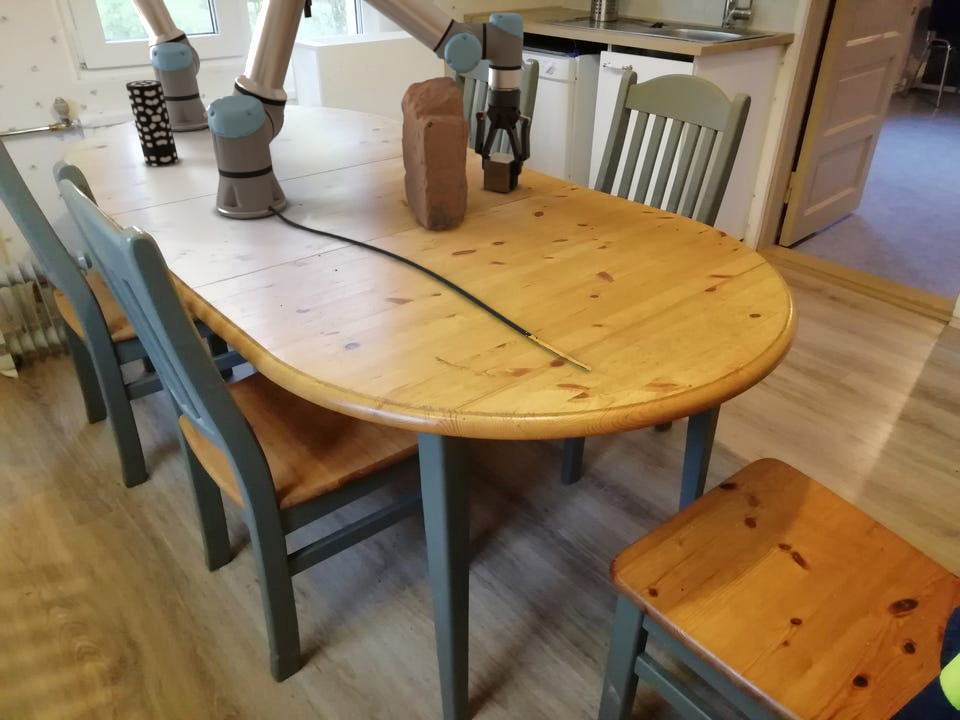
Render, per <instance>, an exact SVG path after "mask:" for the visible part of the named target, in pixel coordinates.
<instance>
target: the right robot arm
mask: <svg viewBox="0 0 960 720" xmlns="http://www.w3.org/2000/svg"><path fill="white" fill-rule="evenodd" d="M305 1H306V0H260V4H259V10H258V14H257V18H256V22H255V26H254V31H253V34H252V40H251V44H250V49H249V53H248V57H247V61H246V66H245V69H244V73H242V74H240V75H238V76H237V77H235V80H234V85H233V90H232V94H231V95H228V96H223V97H222V98H217V99H215V100H213V101H212V102H210V103H209V105H208V106H207V109H206V111H207V114H208V129H209V131H210V136H211V142H212V147H213V151H214V156H215V161H216V167H217V169H218V170H217V172H218V185H217V193H216V201H215V206H216V210H217V213H218V214H219V215H221V216H223V217H225V218H229V219H236V220H253V219H260V218H261V219H262V218H265V217H266V218H267V217H270V216H274V215H276V217H277V218H279V219H280V220H281V221H283V222H285V223H286V224H287V225H290V226H292V227H293V228H296V229H300V230H303V231H305V232H308V233H313V234H316V235H321V236H325V237H328V238H332V239H336V240H340V241H342V242H346V243H350V244H353V245H357V246H359V247H362V248H364V249H369V250H371V251H373V252H374V251H375V252H376V253H379V254H383V255H385V256H387V257H388V256H389V257H391V258H393V259H396V260H398V261H400V262H402V263H405V264H406V265H409V266H411V267H414V268H415V269H417V270H419V271H422V272H423V273H425V274H427V275H428V276H430V277H433V278H434V279H435V280H438V281H440V282H441V283H443V284H445V285H446V286H448V287H450V288H451V289H453V290H455V291H456V292H458V293H459V294H461V295H462V296H463V297H465V298H467V299H469V300H470V301H472V302H473V303H475V304H476V305H478V306H479V307H481V308H482V309H483V310H485V311H487V312H488V313H490V314H491V315H492V316H494V317H495V318H497V319H499V320H500V321H501V322H503V323H505V324H506V326H507V325H508V326H509V327H510V328H512V329H514V330H515V331H516V332H518V333H520V334H521V335H523V336H525V335H527V337H526V338H528V336H531V335H533V334H532V333H530V332H529V331H527V330H526V329H524V328H523V327H521V326H520V325H517V324H516V323H514V321H511V320H510V319H508V318H507V317H505V316H504V315H502V314H501V313H499V312H498V311H496V310H495V309H494V308H492V307H490V306H488V305H487V304H486V303H484V302H482V301H481V300H479V299H478V298H477V297H475V296H474V295H472V294H471V293H469V292H468V291H466V290H464V289H463V288H461V287H460V286H458V285H456V284H454V283H453V282H451V281H450V280H448V279H446V278H445V277H443V276H441V275H439V274H437V273H435V272H434V271H432V270H430V269H428V268H427V267H424V266H422V265H420V264H418V263H417V262H415V261H412V260H410V259H407V258H405V257H402V256H400V255H398V254H395V253H392V252H390V251H387V250H384V249H383V248H380V247H377V246H374V245H371V244H368V243H366V242H365V243H364V242H361V241H358V240H355V239H352V238H349V237H345V236H341V235H339V234H334V233H331V232H327V231H322V230H317V229H314V228H310V227H307V226H304V225H301V224H298V223H295V222H294V221H292V220H290V219H287V218H286V217H285V216H284V215H282V214H281V213H280V212H282V211H283V210H285V209H286V207H287V199H286V194H285V193H284V191H283V189H282V187H281V184H280V182H279V180H278V179H277V177H276V175H275V172H274V167H273V160H272V154H271V147H270V144H271V143H272V142H273V140H274V139H275V138H276V137H278V135H279V134H280V133H281V131H282V129H283V126H284V122H285V109H286V105H287V101H288V94H287V92H286V91H285V88H284V86H285V81H286V77H287V73H288V69H289V66H290V63H291V59H292V54H293V50H294V46H295V43H296V39H297V35H298V31H299V27H300V23H301V20H302V15H303V13H304V5H305ZM362 1H363V2H365V3H366V4H368V6H370V7H371V8H373V9H374V10H376V11H377V12H379V13H380V14H381V15H382V16H384V17H385V18H386V19H388V20H389V21H391V22H392V23H393V24H394V25H396V26H398V28H400V29H401V30H403V31H404V32H405V33H407V34H409V35H410V36H411V37H413V38H414V39H415V40H416V41H418V42H419V43H421V44H422V45H423V46H425V47H426V48H427V49H429V50H430V51H432V52H433V53H434V54H435V55H436V57H437V58H438V59H439V60H443V61H444V62H445V63H446V64H447V65H448V67H449V68H450V69H452V70H453V71H454V72H456V73H459V74H468V73H470V72H473V71H474V70H475V69H476V68H477V67H478V66H479V64H480V62H481V60H482V61H487V60H488V80H487V82H488V84H487V85H488V86H489V88H488V89H487V90H488V91H487V93H488V94H487V108H486V110H482V109H481V110H479V111H477V112H476V113H475V118H476V132H475V143H474V153H475V154H477V155H479V156H481V169H482V170H483V171H484V160H485V159H486V158H488V157H489V156H490V155H492V154H491V151H492V148H493V145H494V142H495V141H496V137H497V134H498V131H499V130H501V129H502V130H504V131H506V134H507V135H508V139H509V143H510V146H511V147H510V148H511V152H512V155H514V159H515V160H514V161H513V162H512V167H511V190H514V189H516V188H517V187H518V185H519V176H520V175H522V173H523V162H525V161H527V160H529V159H530V158H531V130H530V127H531V124H532V119H533V118H532V116H530V115H529V116H526V115H523V114H522V112H521V110H520V107H521V92H522V90H521V89H520V87H521V86H522V66H523V53H524V51H523V50H524V49H523V48H524V18H523V16H522V15H521V14H520V13H516V12H505V11H502V12H493V13H490V16H489V20H488V22H482V23H481V22H480V23H479V22H458V21H457V20H456V19H453V18H452V17H451V16H450V15H449V14H447V13H446V12H445V11H444V10H442V9H441V8H440V7H438V6H437V5H436V4H435V3H433V2H432V1H430V0H362ZM487 119H489V121H490V125H489V129H488V133H487V137H486V136H485V135H486V134H485V133H486V126H487V125H486V124H487ZM518 122H519V125H520V126H521V127H520V139H519V134H518V127H517V123H518ZM485 137H486V138H485ZM520 141H521V143H520ZM518 175H519V176H518ZM526 332H527V333H526ZM535 337H536V339H537V338H538V336H535Z"/></svg>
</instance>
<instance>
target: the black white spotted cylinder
mask: <svg viewBox="0 0 960 720" xmlns="http://www.w3.org/2000/svg"><path fill="white" fill-rule="evenodd" d="M125 87H126V91H127V95H128V99H129V103H130V107H131V110H132V115H133V118H134V124H135V127H136V130H137V134H138V139H139V143H140V146H141V150H142V155H143V158H144V163H145V164H146V165H147V166H151V167H164V166H170V165H174V164H176V163H178V162H179V155H178V150H177V146H176V142H175V137H174V133H173V131H172V129H171V124H170V120H169V115H168V111H167V106H166V102H165V98H164V93H163V89H162V84H161V82H160V81H156V79H154V80H153V79H151V80H150V79H145V80H144V79H141V80H134V81H130V82H129V81H128V82H127V83H126V84H125Z"/></svg>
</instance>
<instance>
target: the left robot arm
mask: <svg viewBox="0 0 960 720" xmlns="http://www.w3.org/2000/svg"><path fill="white" fill-rule="evenodd" d="M130 1H131V3H132V5H133V7H134V9H135V11H136V13H137V14H138V16H139V18H140V20H141V22H142V24H143V26H144V28H145V30H146V31H147V34H148V35H149V39H150V40H149V43H148V46H149V48H150V50H149V55H150V59H149V60H150V62H151V65H152V68H153V73H154V79H155V81H160V82H161V84H162V89H163V93H164V98H165V102H166V106H167V111H168V115H169V120H170V124H171V129H172V132H190V131H196V130H203V129H205V128H209V126H208V114H207V109H206V107H205V104H204V103H203V101H202V99H201V95H200V89H199V84H198V79H197V75H198V74H199V72H200V68H201V61H200V56H199V54H198V52H197V50H196V49H195V48H194V47H193V45H192V44H191V43H190V40H189V39H188V36H187V34H186V32H185V31H184V30H182V29H179V28H178V27H177V24H176V23H175V21H174V19H173V18H172V14H171V13H170V11H169V9H168V8H167V6H166V3H165V2H164V0H130ZM312 1H313V0H306V1H305V5H304V8H303V16H304V18H305V19H309V18H313V16H312V6H313V2H312Z"/></svg>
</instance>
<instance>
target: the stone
mask: <svg viewBox="0 0 960 720" xmlns="http://www.w3.org/2000/svg"><path fill="white" fill-rule="evenodd" d="M400 107H401V112H402V114H403V115H402V116H403V118H402V119H403V120H402V121H403V122H402V130H401V133H402V138H401V147H402V161H403V167H404V170H405V174H404V178H403V179H404V180H403V181H404V190H405V197H406V201H407V203H408V204H409V207H410V208H411V210H412V212H413V213H414V215H415V217H416V219H417V220H418V221H419V223H420V224H421V225H422V226H424V228H425V230H427V231H440V230H447V229H453V228H456V227H457V226H458V225H459V224H460V223H462V222H464V220H465V217H466V216H465V215H466V212H467V209H468V190H469V186H468V177H467V169H466V168H467V167H466V166H467V156H468V143H469V142H468V141H469V121H467V120H466V119H465V115H464V113H465V111H464V110H465V109H464V108H465V107H464V99H463V95H462V91H461V88H460V87H459V85H457V81H455V80H454V78H453V77H451V76H438V77H434V78H429V79H425V80H423V81H419V82H413V83H412V84H410V85H409V86H408V88H407V89H406V91H405V92H404V95H403V96H402V99H401V103H400Z"/></svg>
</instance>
